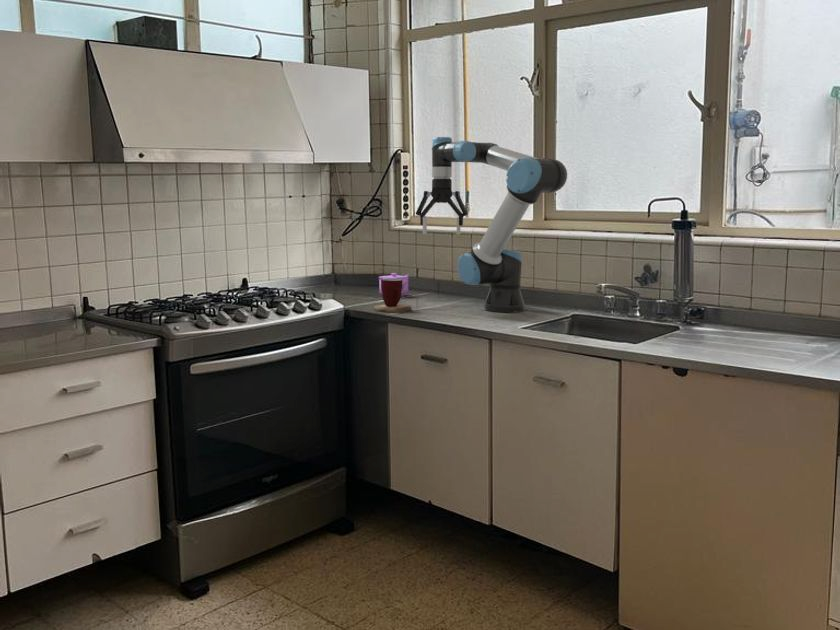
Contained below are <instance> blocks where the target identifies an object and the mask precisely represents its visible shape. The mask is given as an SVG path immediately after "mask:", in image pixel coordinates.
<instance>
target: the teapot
mask: <svg viewBox="0 0 840 630" xmlns="http://www.w3.org/2000/svg"><path fill="white" fill-rule="evenodd" d="M409 276H410V274H405V275H401V274H400V275H398V273H397V272H392V273H390V275H382V276H381V275H379V276H378V277H377V278H378V281H379V286H378V287H379V288H378V289H379V290H378V292H379V294H381V295H382V290H381V279H385V278H395V279H402V291H401V298H403V297H405V294H408V295H409Z"/></svg>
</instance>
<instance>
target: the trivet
mask: <svg viewBox="0 0 840 630" xmlns="http://www.w3.org/2000/svg"><path fill="white" fill-rule="evenodd" d="M373 309H374V311H375V312H381V313H388V314H389V313H390V314H391V313H397V314H398V313H406V312H410V311H412V306H411V305H409V304H403V303H398V304H397V306H394V307H390V306H386V305H385V303H382V304H376V305H374V308H373Z"/></svg>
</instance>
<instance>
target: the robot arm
mask: <svg viewBox="0 0 840 630" xmlns="http://www.w3.org/2000/svg"><path fill="white" fill-rule="evenodd" d="M431 143H432V144H431V145H432V146H431V156H432V157H431V160H432V161H431V164H432V165H431V169H432V170H431V177H432V179H431V191H429V190H424V191H423V197H422V198H421V201H420V203H419V206H418V207H417V210H416V211H415V215H416V216H418V217H420V225H421V226H422V234H423V235H427V234H428V233H427V231H428V226H427V225H428V217H427V216H426V215H427V214H428V213H429V211H430V210H431V209H432V208H433V206H434V205H435V204H436V203H437V204H441V203H442V204H448V205H449V206H450V207H451V208H452V210H453V211H454V212H455V214H456V215H457V216H458V217H456V235H461V226H464V217H467V216H468V214H469V213H468V210H467V208H466V207H465V205H464V202H463V199H462V198H461V193H460V190H459V191H458V190H456V191H453V190H452V185H453V182H452V181H453V180H452V179H451V178H452V176H453V175H452V174H453V173H452V172H453V169H452V168H453V163H479V164H486V165H488V166H491V167H495V168H498V169H501V170H503V171H507V172H506V177H507V178H506V179H505V180H506V184H507V185H506V190H507V194H506V195H505V197H504V199H503V201H502V203H501V205H500V206H499V207H498V209H497V212H496V214H495V215H494V217H493V219H492V220H491V222H490V224H489V226H488V228H487V229H486V231H485V233H484V235H483V237H482V239H481V240H480V242H475V244H473V246H472V248H471V249H470V251H469V252H466V253H463V254H461V255H460V256H459V258H458V261H457V271H458V275H459V278H460V280H461V281H462V282H463V283H464V284H466V285H468V286H479V285H481V286H482V285H489V290H488V294H487V296H486V299H485V302H484V310H485V309H486V310H485V311H488V310H489V311H488V312H493V311H497V312H496V313H515V312H514V311H521V312H523V311H522V310H524V311H525V301H524V298H523V295H522V292H521V283H522V282H521V281H522V280H521V279H522V263H523V262H522V253H521V252H520V251H518V250H512V249H506V248H505V247H506V246H507V245H508V242H509V241H510V239H511V237H512V235H513V234H514V232H515V231H516V229H517V227H518V226H519V223H520V222H521V220H522V219H523V217H524V215H525V214H526V212H527V210H528V209H529V207H530V205H534V204H536V203H537V202H538V200H539V198H540V197H541V195H542V194H552V193H555V192H558V191H559V190H561V189H562V188H563V187H564V186H565V185H566V183H567V179H568V170H567V168H566V166H565V165H564V163H562V162H561V161H560V160H558V159H556V158H548V157H541V158H538V157H535V156H533V155H529V154H528V155H527V154H524V153H521V152H518V151H514V150H511V149H509V148H504V147H501V146H499V145H498V144H497V143H492V142H476V141H473V142H472V141H469V140H460V141H453V139H452V137H449V136H436V137H433V139H432V142H431ZM430 196H431V197H432V198H431V200H430V202H429V203H428V204H427V205H426V203H427V201H428V199H429V198H430ZM452 197H454V198H455V200H456V202H457V205H458V206H459V208H458V206H457V205H456V204H455V203H454V201H453V200H452ZM425 205H426V207H425ZM424 207H425V208H424Z"/></svg>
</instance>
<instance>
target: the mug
mask: <svg viewBox="0 0 840 630" xmlns="http://www.w3.org/2000/svg"><path fill="white" fill-rule="evenodd" d="M381 290H382V294H381V295H382V300H383V302H384V303H383V304H385V305H386V306H390V307H394V306H397V304H399V302H400V301H401V300H400V299H401V298H402V297H401V291H402V279H395V278H385V279H381Z"/></svg>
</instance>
